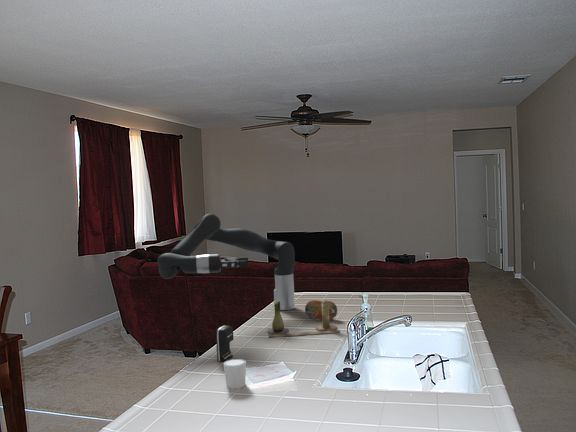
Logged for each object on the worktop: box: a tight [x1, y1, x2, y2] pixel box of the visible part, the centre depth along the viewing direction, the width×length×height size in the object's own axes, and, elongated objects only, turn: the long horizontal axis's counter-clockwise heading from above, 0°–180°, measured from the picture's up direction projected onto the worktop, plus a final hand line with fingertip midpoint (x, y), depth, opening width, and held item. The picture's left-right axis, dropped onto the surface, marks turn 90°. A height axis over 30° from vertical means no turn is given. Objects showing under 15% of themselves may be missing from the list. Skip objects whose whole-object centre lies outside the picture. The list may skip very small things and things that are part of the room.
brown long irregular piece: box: [267, 299, 341, 339], centre depth 212 cm, size 29×12×12 cm, turn 95°
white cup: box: [223, 358, 247, 390], centre depth 156 cm, size 7×7×7 cm
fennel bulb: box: [271, 301, 285, 331], centre depth 213 cm, size 6×5×12 cm
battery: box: [215, 325, 234, 362], centre depth 180 cm, size 7×4×11 cm, turn 158°
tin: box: [304, 300, 338, 321], centre depth 231 cm, size 15×3×8 cm, turn 62°
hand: (248, 261), depth 211 cm, fingers open, 8 cm apart
